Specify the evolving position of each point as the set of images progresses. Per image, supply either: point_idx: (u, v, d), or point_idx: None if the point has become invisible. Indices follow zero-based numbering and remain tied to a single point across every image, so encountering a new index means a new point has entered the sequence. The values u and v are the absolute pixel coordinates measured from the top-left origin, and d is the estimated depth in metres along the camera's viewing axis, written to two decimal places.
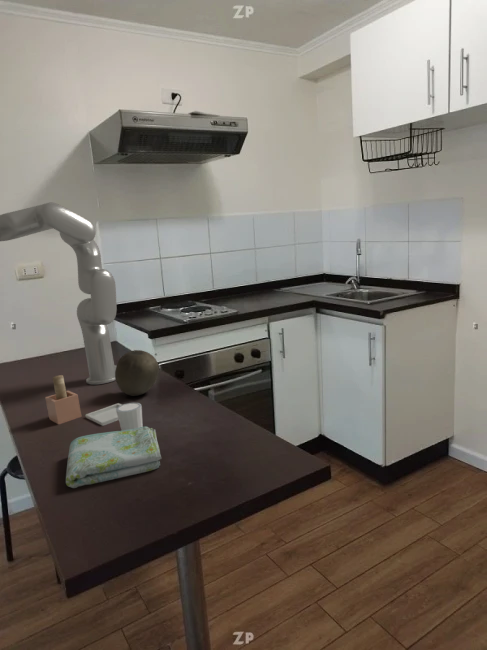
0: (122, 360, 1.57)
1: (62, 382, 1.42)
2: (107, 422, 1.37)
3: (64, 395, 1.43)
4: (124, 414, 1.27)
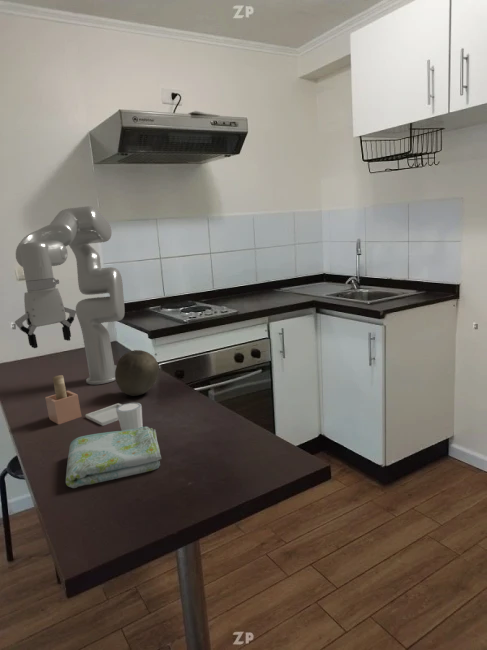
0: (122, 360, 1.57)
1: (62, 382, 1.42)
2: (107, 422, 1.37)
3: (64, 395, 1.43)
4: (124, 414, 1.27)
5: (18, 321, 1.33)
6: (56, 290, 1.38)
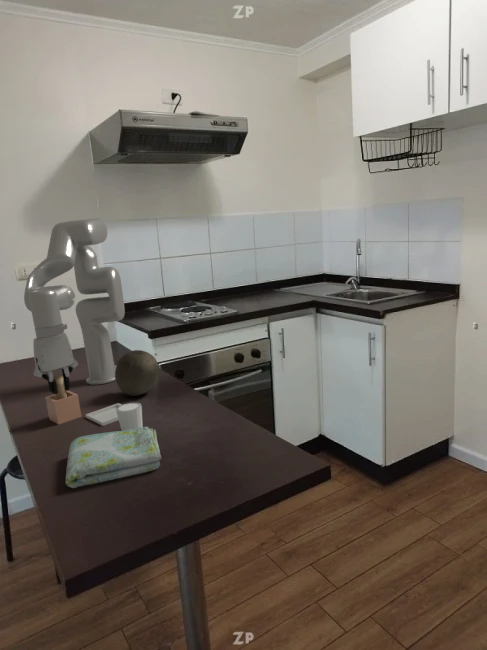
0: (122, 360, 1.57)
1: (62, 382, 1.42)
2: (107, 422, 1.37)
3: (64, 395, 1.43)
4: (124, 414, 1.27)
5: (36, 373, 1.38)
6: (64, 335, 1.41)
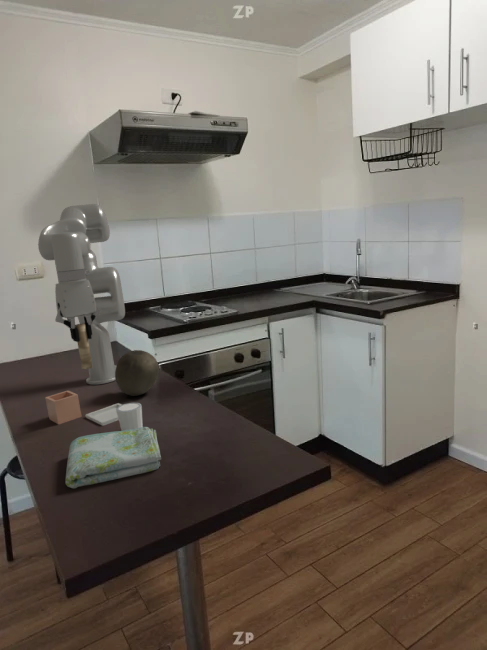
0: (122, 360, 1.57)
1: (84, 330, 1.38)
2: (107, 422, 1.37)
3: (86, 343, 1.39)
4: (124, 414, 1.27)
5: (58, 319, 1.34)
6: (87, 281, 1.37)
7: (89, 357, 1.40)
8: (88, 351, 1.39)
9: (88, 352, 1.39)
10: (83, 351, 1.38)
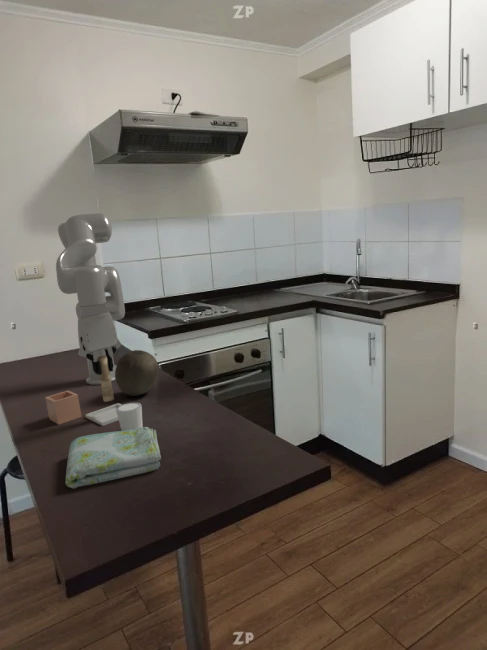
0: (122, 360, 1.57)
1: (106, 362, 1.39)
2: (107, 422, 1.37)
3: (108, 376, 1.40)
4: (124, 414, 1.27)
5: (81, 353, 1.35)
6: (109, 315, 1.38)
7: (111, 390, 1.41)
8: (110, 383, 1.41)
9: (109, 384, 1.40)
10: (105, 383, 1.40)
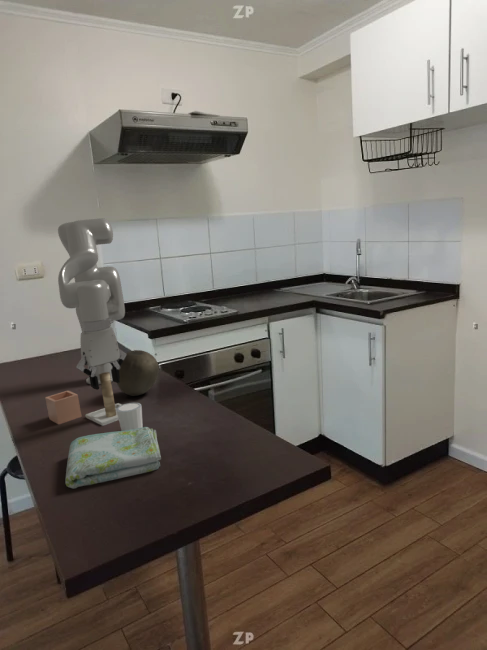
0: None
1: (109, 379, 1.41)
2: (107, 422, 1.37)
3: (111, 392, 1.41)
4: (124, 414, 1.27)
5: (79, 366, 1.35)
6: (111, 330, 1.39)
7: (113, 405, 1.42)
8: (112, 399, 1.42)
9: (112, 400, 1.42)
10: (108, 399, 1.41)
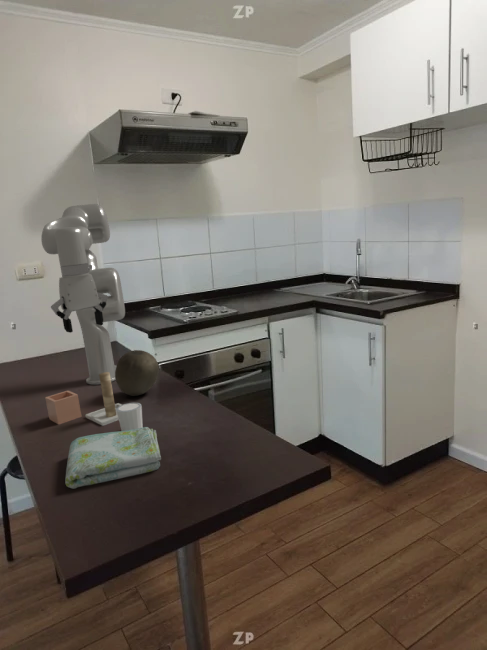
0: (122, 360, 1.57)
1: (109, 379, 1.41)
2: (107, 422, 1.37)
3: (110, 392, 1.41)
4: (124, 414, 1.27)
5: (54, 306, 1.35)
6: (90, 275, 1.40)
7: (113, 405, 1.42)
8: (112, 399, 1.42)
9: (112, 400, 1.42)
10: (108, 399, 1.41)
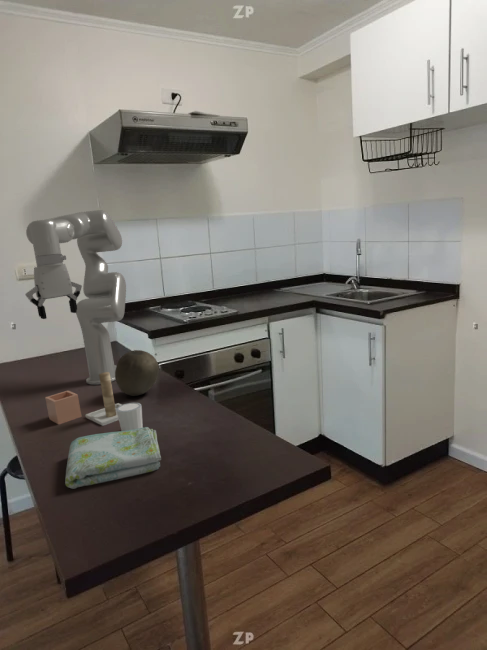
0: (122, 360, 1.57)
1: (109, 379, 1.41)
2: (107, 422, 1.37)
3: (110, 392, 1.41)
4: (124, 414, 1.27)
5: (28, 293, 1.44)
6: (63, 265, 1.48)
7: (113, 405, 1.42)
8: (112, 399, 1.42)
9: (112, 400, 1.42)
10: (108, 399, 1.41)
